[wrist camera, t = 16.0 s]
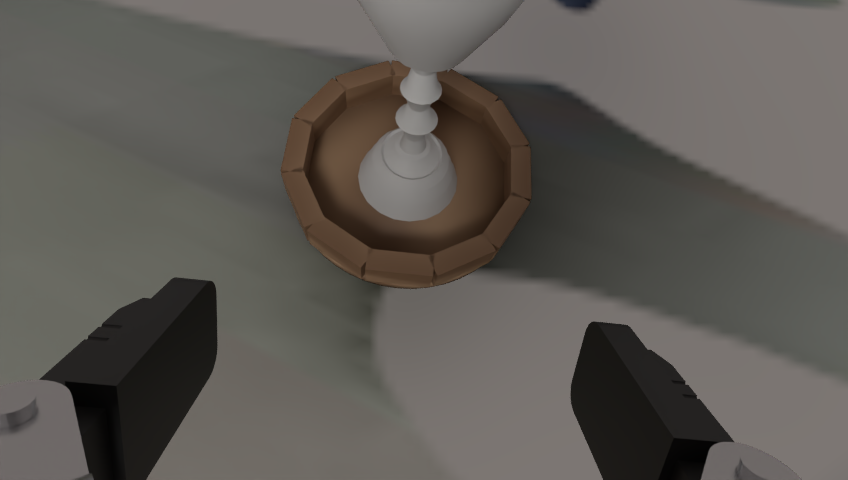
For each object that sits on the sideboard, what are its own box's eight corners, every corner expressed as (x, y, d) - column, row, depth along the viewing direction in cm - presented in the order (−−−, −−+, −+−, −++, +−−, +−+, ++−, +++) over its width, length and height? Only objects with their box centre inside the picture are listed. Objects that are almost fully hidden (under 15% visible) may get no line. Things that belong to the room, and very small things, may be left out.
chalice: (472, 124, 28) (624, -361, 12) (484, 237, 25) (704, -190, 9) (337, 120, 27) (294, -409, 11) (333, 237, 24) (268, -235, 8)
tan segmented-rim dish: (519, 103, 30) (529, 78, 28) (520, 300, 25) (533, 286, 23) (311, 77, 29) (307, 49, 27) (269, 275, 24) (261, 258, 22)
